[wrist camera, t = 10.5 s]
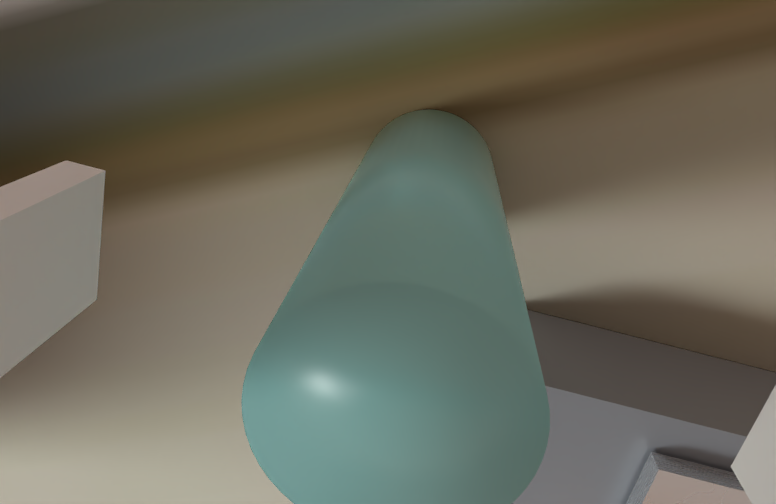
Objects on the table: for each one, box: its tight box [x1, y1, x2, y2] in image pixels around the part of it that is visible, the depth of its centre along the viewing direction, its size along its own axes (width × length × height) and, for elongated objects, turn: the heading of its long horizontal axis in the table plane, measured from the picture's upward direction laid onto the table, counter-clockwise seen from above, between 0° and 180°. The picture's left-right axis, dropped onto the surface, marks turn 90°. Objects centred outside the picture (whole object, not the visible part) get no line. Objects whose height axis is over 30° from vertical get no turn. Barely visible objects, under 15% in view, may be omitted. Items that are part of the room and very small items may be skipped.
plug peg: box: [242, 109, 550, 504], centre depth 16 cm, size 4×4×14 cm
